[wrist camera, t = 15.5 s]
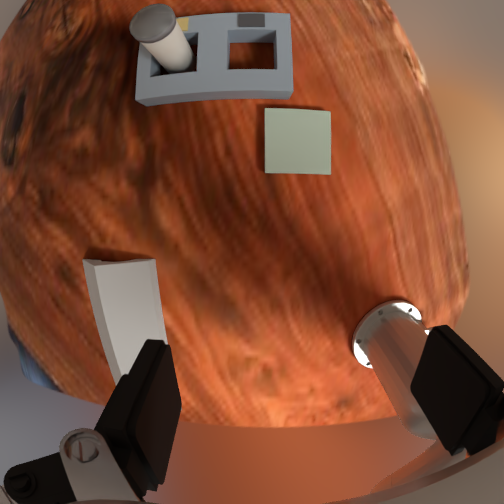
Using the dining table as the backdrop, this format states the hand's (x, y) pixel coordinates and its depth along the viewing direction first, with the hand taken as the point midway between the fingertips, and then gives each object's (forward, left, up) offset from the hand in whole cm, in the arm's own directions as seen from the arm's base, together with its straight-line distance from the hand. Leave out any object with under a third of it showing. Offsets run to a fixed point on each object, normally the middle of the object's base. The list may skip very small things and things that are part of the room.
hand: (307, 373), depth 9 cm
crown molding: (+21, +19, -29) cm, 41 cm away
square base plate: (-4, -10, -28) cm, 30 cm away
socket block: (+6, -21, -28) cm, 36 cm away
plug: (+11, -21, -28) cm, 37 cm away
